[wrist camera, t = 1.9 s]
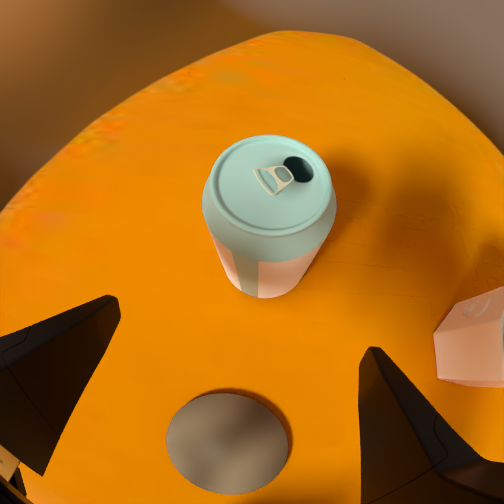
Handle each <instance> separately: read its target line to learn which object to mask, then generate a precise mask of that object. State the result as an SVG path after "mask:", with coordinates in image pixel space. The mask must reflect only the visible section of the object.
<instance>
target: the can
mask: <svg viewBox="0 0 504 504" xmlns="http://www.w3.org/2000/svg"><path fill="white" fill-rule="evenodd" d="M202 209H203V215H204V218H205V221H206V224H207V226H208V229H209V232H210V234H211V237H212V239H213V242H214V244H215V247H216V249H217V252H218V254H219V257H220V259H221V262H222V264H223V267H224V269H225V272H226V274H227V276H228V278H229V279H230V281H231V282H232V283H233V284H234V285H235V286H236V287H237V288H238V289H239V290H241V291H242V292H244V293H246V294H248V295H250V296H253V297H258V298H273V297H277V296H280V295H283V294H285V293H287V292H288V291H290V290H291V289H293V288H294V287H295V286H296V285H297V284H298V283H299V281H300V280H301V278H302V277H303V275H304V273H305V272H306V270H307V269H308V267H309V265H310V264H311V262H312V260H313V259H314V257H315V255H316V254H317V252H318V250H319V249H320V247H321V245H322V244H323V242H324V240H325V239H326V237H327V235H328V234H329V232H330V230H331V228H332V226H333V223H334V220H335V216H336V209H337V205H336V195H335V190H334V187H333V185H332V180H331V176H330V173H329V170H328V168H327V166H326V164H325V163H324V161H323V160H322V159H321V157H320V156H319V155H318V154H317V153H316V152H315V151H314V150H312V149H311V148H310V147H308V146H307V145H305V144H303V143H301V142H299V141H297V140H295V139H292V138H289V137H285V136H279V135H258V136H253V137H249V138H246V139H243V140H241V141H238V142H236V143H235V144H233V145H231V146H230V147H229V148H227V149H226V150H225V151H224V152H223V153H222V154H221V155H220V156H219V157H218V159H217V160H216V162H215V164H214V166H213V168H212V170H211V174H210V175H209V177H208V179H207V181H206V184H205V187H204V191H203V197H202Z"/></svg>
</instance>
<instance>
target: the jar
mask: <svg viewBox="0 0 504 504" xmlns="http://www.w3.org/2000/svg"><path fill="white" fill-rule="evenodd" d="M433 337H434V345H435V354H436V364H437V377H438V378H439V379H442V380H446V381H449V382H453V383H456V384H460V385H464V386H476V387H504V286H501V287H499V288H496V289H494V290H491V291H489V292H486V293H483V294H481V295H478V296H475V297H472V298H469V299H467V300H464V301H461V302H458V303H456V304H455V305H454V307H453V308H452V309H451V311H450V312H449V314H448V315H447V316H446V318H445V319H444V320H443V322H442V323H441V324H440V326H439V327H438V328H437V329H436V331H435V332H434V334H433Z"/></svg>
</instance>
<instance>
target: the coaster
mask: <svg viewBox="0 0 504 504" xmlns="http://www.w3.org/2000/svg"><path fill="white" fill-rule="evenodd" d="M166 444H167V450H168V454H169V456H170V459H171V461H172V463H173V464H174V466H175V467H176V469H177V470H178V471H179V472H180V473H181V474H182V475H183V476H184V477H185V478H186V479H187V480H189V481H190V482H191V483H193V484H195V485H196V486H198V487H200V488H202V489H205V490H208V491H211V492H215V493H219V494H231V495H234V494H243V493H248V492H252V491H255V490H257V489H260V488H262V487H264V486H265V485H267V484H268V483H270V482H271V481H272V480H273V479H274V478H275V477H276V476H277V475H278V474H279V473H280V471H281V470H282V468H283V466H284V464H285V462H286V459H287V455H288V441H287V436H286V433H285V430H284V428H283V426H282V424H281V422H280V421H279V419H278V418H277V417H276V415H275V414H274V413H273V412H272V411H271V410H269V409H268V408H267V407H266V406H264V405H263V404H261V403H260V402H258V401H256V400H254V399H251V398H249V397H246V396H243V395H238V394H232V393H214V394H208V395H204V396H201V397H199V398H196V399H194V400H192V401H190V402H189V403H187V404H186V405H185V406H183V407H182V408H181V409H180V410H179V411H178V412H177V413H176V414H175V416H174V417H173V418H172V420H171V422H170V424H169V427H168V430H167V436H166Z"/></svg>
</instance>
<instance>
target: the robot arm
mask: <svg viewBox="0 0 504 504" xmlns="http://www.w3.org/2000/svg"><path fill="white" fill-rule="evenodd" d="M120 318H121V313H120V308H119V302H118V299H117V297H115V296H111V295H105V296H102V297H100V298H97V299H95V300H92V301H90V302H87V303H85V304H82V305H80V306H77V307H75V308H72V309H70V310H67V311H65V312H62V313H60V314H58V315H55V316H53V317H50V318H48V319H45V320H43V321H40V322H38V323H36V324H33V325H32V326H28V327H26V328H24V329H21V330H19V331H16V332H13V333H11V334H8V335H5V336H2V337H0V504H33V503H32V502H31V501H30V500H28V499H27V498H26V495H27V493H26V490H25V487H24V483H23V480H22V476H21V472H20V469H19V468H18V466H19V464H20V462H22V463H24V464H25V465H26V466H28V467H29V468H30V469H32V470H33V471H35V472H36V473H38V474H39V475H40V476H43V475H44V473H45V470H46V468H47V466H48V463H49V461H50V459H51V456H52V454H53V452H54V450H55V447H56V445H57V443H58V441H59V439H60V436H61V434H62V432H63V430H64V428H65V426H66V424H67V422H68V420H69V418H70V416H71V414H72V412H73V410H74V408H75V406H76V404H77V402H78V400H79V398H80V396H81V395H82V393H83V391H84V389H85V387H86V385H87V383H88V382H89V380H90V378H91V376H92V374H93V373H94V371H95V369H96V367H97V366H98V364H99V362H100V360H101V359H102V357H103V355H104V353H105V352H106V349H107V347H108V345H109V343H110V341H111V339H112V336H113V334H114V332H115V330H116V328H117V326H118V324H119V321H120ZM358 411H359V426H360V447H361V504H504V463H501V462H494V461H489V460H486V459H484V458H483V457H481V456H480V455H479V454H478V453H477V452H476V451H475V450H474V449H473V448H471V447H470V446H469V445H468V444H467V443H466V442H465V441H464V440H463V439H462V438H461V437H460V436H459V435H458V434H457V433H456V432H455V431H454V430H453V429H452V428H451V426H450V425H449V424H448V423H447V422H446V421H445V420H444V419H443V417H442V416H441V415H440V414H439V413H438V412H437V411H436V409H435V408H434V407H433V406H432V405H431V404H430V402H429V401H428V400H427V399H426V398H425V397H424V396H423V394H422V393H421V392H420V391H419V390H418V389H417V388H416V386H415V385H414V384H413V383H412V382H411V381H410V380H409V379H408V377H407V376H406V375H405V374H404V373H403V372H402V371H401V370H400V368H399V367H398V366H397V365H396V364H395V363H394V362H393V361H392V360H391V358H390V357H389V356H388V355H387V354H386V353H385V352H384V351H383V350H382V349H381V348H380V347H373V346H371V347H369V348H368V349H367V351H366V352H365V354H364V356H363V358H362V360H361V362H360V365H359V392H358Z"/></svg>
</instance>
